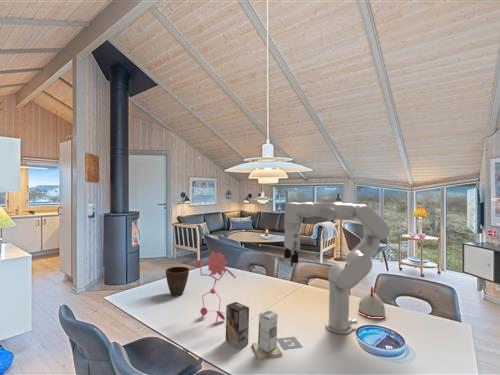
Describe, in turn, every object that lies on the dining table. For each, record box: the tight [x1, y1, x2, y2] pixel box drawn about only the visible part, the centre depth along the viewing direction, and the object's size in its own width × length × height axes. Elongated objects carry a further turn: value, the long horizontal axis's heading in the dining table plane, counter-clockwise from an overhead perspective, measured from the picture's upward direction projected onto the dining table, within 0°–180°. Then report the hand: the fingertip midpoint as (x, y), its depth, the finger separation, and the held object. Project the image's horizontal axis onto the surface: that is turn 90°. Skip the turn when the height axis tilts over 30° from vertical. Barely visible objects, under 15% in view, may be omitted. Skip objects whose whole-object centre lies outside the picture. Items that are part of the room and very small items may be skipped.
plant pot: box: [165, 266, 190, 297], centre depth 181 cm, size 15×15×16 cm
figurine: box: [194, 251, 237, 328], centre depth 149 cm, size 15×26×35 cm, turn 64°
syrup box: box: [257, 309, 278, 352], centre depth 118 cm, size 6×6×14 cm
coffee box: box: [225, 301, 250, 350], centre depth 124 cm, size 9×6×16 cm
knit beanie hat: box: [358, 286, 386, 317], centre depth 159 cm, size 14×14×15 cm
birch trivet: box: [251, 341, 283, 360], centre depth 117 cm, size 10×10×1 cm
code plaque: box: [276, 336, 304, 350], centre depth 124 cm, size 9×9×1 cm
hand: (290, 260), depth 140 cm, fingers open, 9 cm apart
